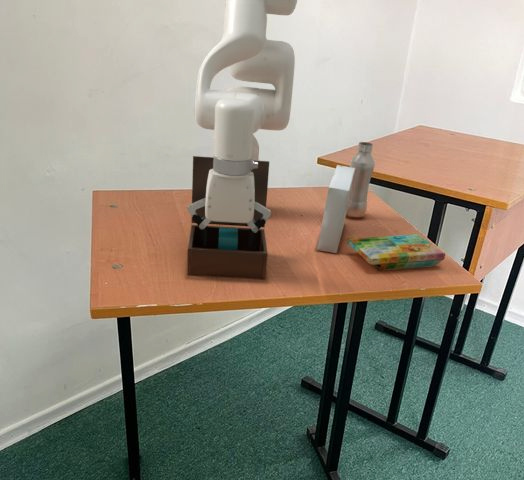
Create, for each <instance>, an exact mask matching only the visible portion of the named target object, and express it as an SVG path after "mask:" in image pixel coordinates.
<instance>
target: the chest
mask: <svg viewBox="0 0 524 480" xmlns="http://www.w3.org/2000/svg"><path fill="white" fill-rule="evenodd" d="M207 226H208V232H207V247H203V243H204V242H200V236H201V229H200V228H199V226H198V225H197V224H191V225H190V231H189V238H188V245H187V276H193V277H195V276H198V277H215V278H232V279H233V278H234V279H252V280H266V276H267V275H266V274H267V264H268V246H267V241H266V240H267V238H266V232H265V231H266V230H265V229H264V228H260V229H259V230H258V231H257V232H256V241H255V245H252V250H249V249H248V239H249V229H250V227H237V226H221V225H207ZM219 228H228V229H238V246H237V250H226V249H218V246H219Z"/></svg>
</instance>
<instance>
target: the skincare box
mask: <svg viewBox="0 0 524 480" xmlns="http://www.w3.org/2000/svg"><path fill="white" fill-rule="evenodd" d="M354 172H355V168H352V167H350V166H345V165H341V164H340V165H339V164H337V165H336V167H335V170H334V173H333V175H332V177H331V180H330V183H329V186H328V188H327V194H326V199H325V205H324V209H323V210H324V211H323V217H322V222H321V227H320V233H319V238H318V243H317V247H316V250H317V251H321V252H327V253H333V254H338V251H339V250H338V249H339V246H340V241H341V238H342V234H343V230H344V226H345V223H346V218H347V215H346V214H347V209H348V204H349V199H350V194H351V189H352V184H353V178H354Z"/></svg>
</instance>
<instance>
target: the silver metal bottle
mask: <svg viewBox="0 0 524 480" xmlns="http://www.w3.org/2000/svg"><path fill="white" fill-rule="evenodd" d="M373 147H374V146H373V143H371V142H368V141H360V142H358V146H357V148H356V149H357V152H356V154H355V155H354V156H353V157H352V159H351V161H350V164H349V167H352V168H355V172H354V178H353V184H352V189H351V194H350V199H349V204H348V209H347V214H346V217H350V218H363V216H364V215H365V214H366V212H367V210H368V194H369V193H368V192H369V187H370V183H371V179H372V176H373V173H374V169H375V167H376V163H375V159H374V157H373V155H372V154H371V153H373Z"/></svg>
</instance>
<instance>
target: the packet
mask: <svg viewBox="0 0 524 480" xmlns="http://www.w3.org/2000/svg"><path fill="white" fill-rule="evenodd" d="M237 246H238V229H228V228H219V246H218V249H226V250H237Z"/></svg>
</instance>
